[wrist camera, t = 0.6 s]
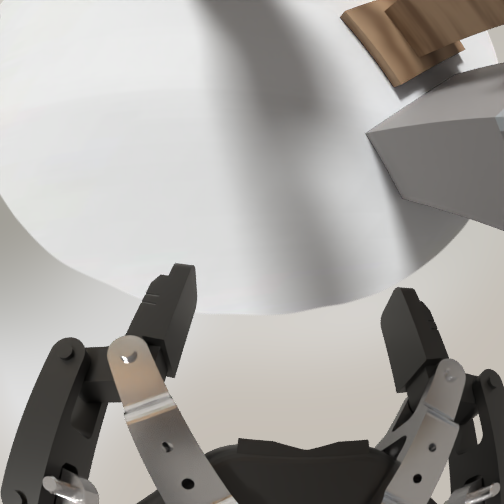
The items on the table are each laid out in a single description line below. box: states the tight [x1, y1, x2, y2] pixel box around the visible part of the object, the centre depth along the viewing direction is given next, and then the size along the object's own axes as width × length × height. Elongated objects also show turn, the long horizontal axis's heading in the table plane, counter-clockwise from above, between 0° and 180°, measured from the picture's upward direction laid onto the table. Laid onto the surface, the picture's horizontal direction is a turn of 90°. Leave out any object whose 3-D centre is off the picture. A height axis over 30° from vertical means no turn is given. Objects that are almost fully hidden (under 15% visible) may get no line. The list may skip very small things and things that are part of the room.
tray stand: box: [366, 63, 504, 231], centre depth 20 cm, size 22×10×24 cm, turn 127°
